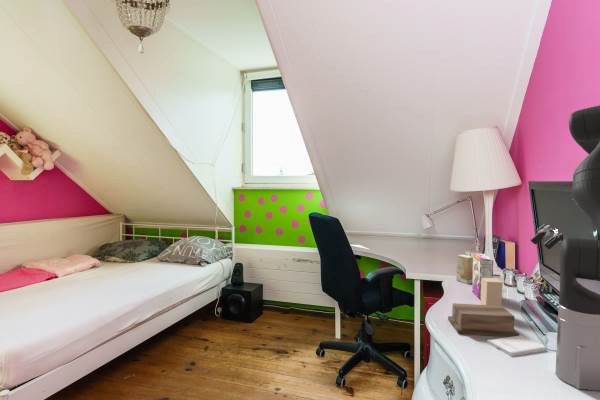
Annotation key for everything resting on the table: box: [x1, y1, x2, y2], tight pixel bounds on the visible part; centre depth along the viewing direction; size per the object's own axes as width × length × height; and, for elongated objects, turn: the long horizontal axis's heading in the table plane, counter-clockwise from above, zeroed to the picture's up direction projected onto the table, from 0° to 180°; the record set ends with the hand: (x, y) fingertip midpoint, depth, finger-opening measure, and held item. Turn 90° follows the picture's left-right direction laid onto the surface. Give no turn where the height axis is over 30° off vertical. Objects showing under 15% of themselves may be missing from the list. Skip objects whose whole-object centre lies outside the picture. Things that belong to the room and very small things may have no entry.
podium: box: [447, 302, 520, 338], centre depth 113 cm, size 11×17×6 cm, turn 82°
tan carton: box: [480, 277, 503, 307], centre depth 126 cm, size 5×5×12 cm
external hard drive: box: [486, 334, 548, 357], centre depth 101 cm, size 2×8×12 cm
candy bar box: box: [471, 253, 494, 301], centre depth 145 cm, size 11×5×16 cm, turn 168°
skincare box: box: [455, 254, 473, 285], centre depth 166 cm, size 6×4×12 cm
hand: (539, 244), depth 121 cm, fingers open, 8 cm apart
